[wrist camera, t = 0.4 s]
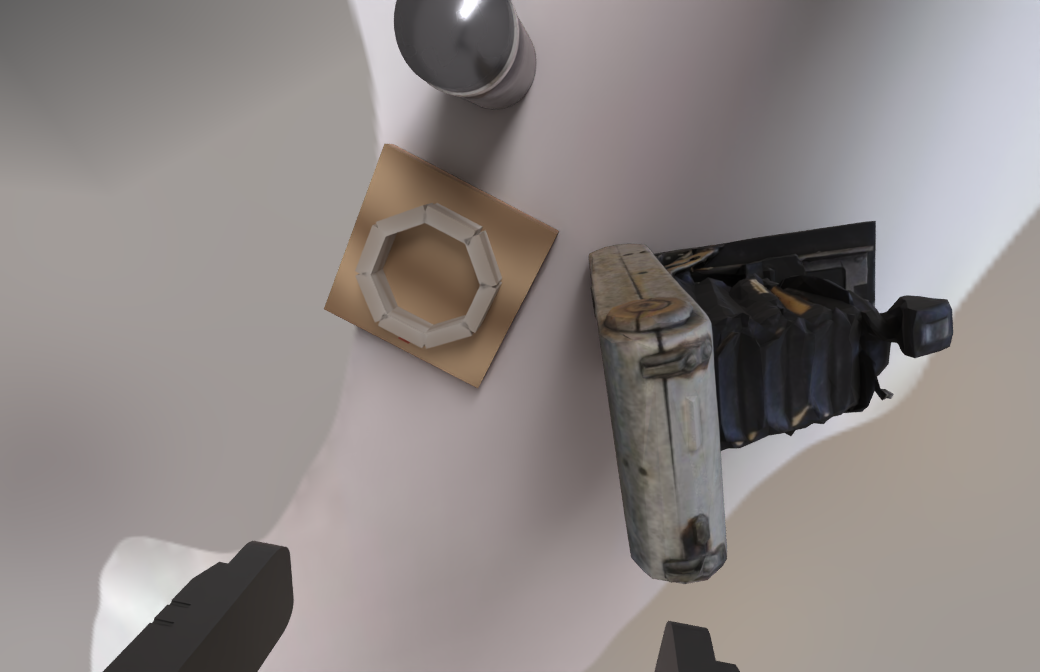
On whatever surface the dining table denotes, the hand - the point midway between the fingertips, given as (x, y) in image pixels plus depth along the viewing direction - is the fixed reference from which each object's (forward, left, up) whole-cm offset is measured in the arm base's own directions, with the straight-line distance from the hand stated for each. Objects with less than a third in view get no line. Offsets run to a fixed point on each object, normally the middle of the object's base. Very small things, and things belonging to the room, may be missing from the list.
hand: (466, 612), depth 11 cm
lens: (-11, -10, -26) cm, 30 cm away
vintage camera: (-5, +9, -27) cm, 28 cm away
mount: (+2, -8, -26) cm, 28 cm away
